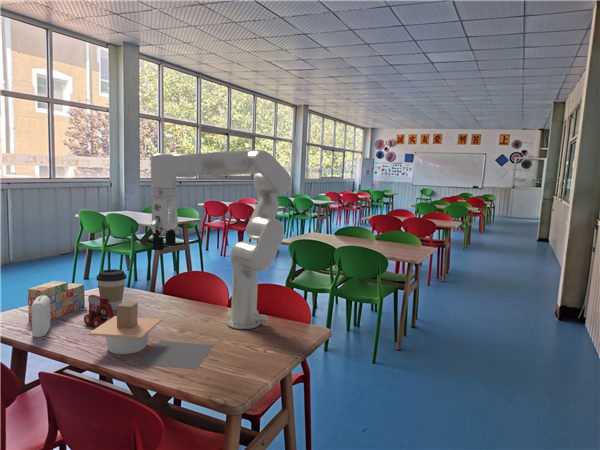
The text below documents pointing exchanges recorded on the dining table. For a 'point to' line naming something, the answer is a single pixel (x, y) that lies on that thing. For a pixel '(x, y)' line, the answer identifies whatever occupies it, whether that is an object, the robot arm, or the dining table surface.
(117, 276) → the coffee cup
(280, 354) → the dining table surface
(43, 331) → the photo printer
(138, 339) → the ramekin
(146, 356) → the mat
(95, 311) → the toy fire truck
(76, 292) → the stack of blocks
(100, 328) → the cover
